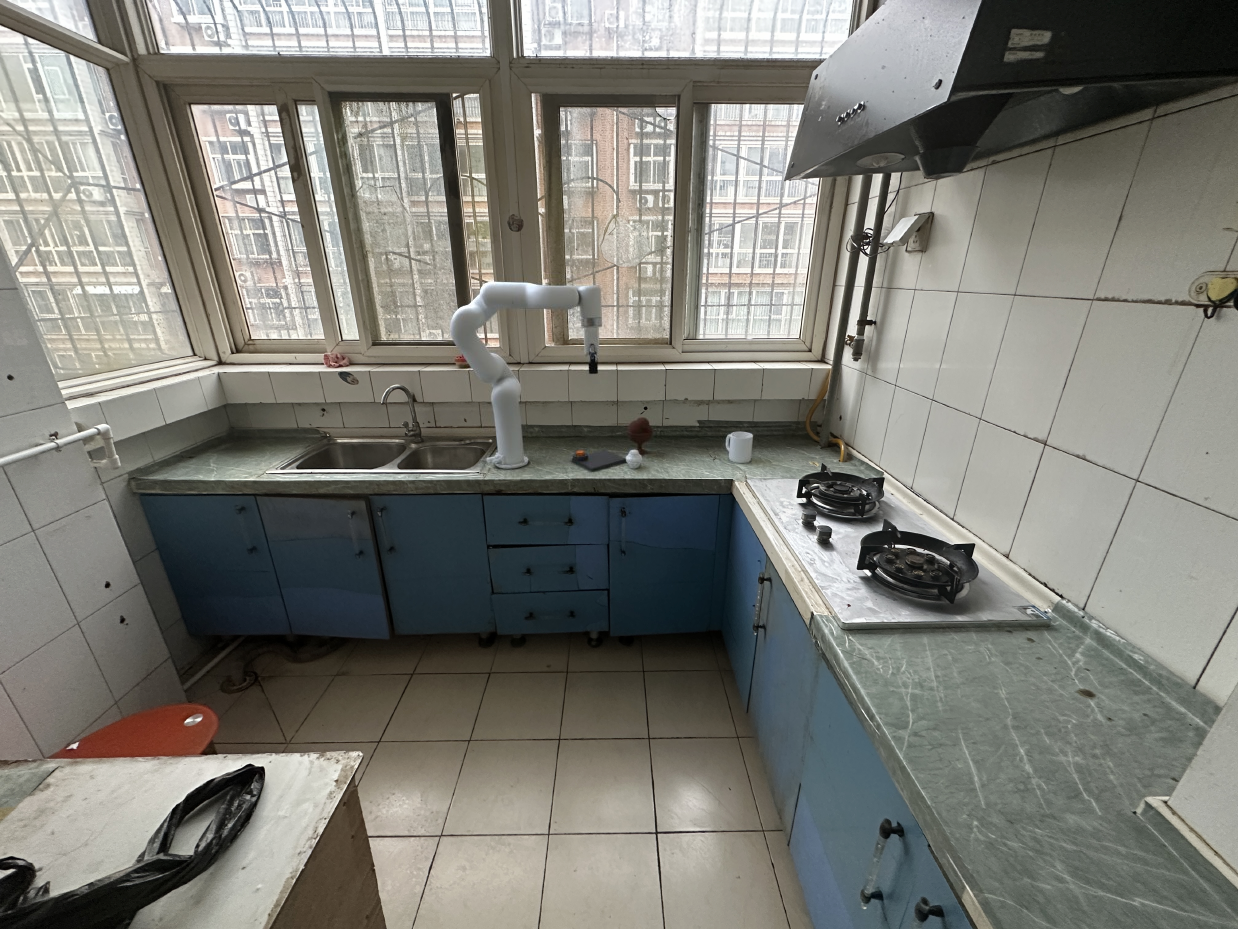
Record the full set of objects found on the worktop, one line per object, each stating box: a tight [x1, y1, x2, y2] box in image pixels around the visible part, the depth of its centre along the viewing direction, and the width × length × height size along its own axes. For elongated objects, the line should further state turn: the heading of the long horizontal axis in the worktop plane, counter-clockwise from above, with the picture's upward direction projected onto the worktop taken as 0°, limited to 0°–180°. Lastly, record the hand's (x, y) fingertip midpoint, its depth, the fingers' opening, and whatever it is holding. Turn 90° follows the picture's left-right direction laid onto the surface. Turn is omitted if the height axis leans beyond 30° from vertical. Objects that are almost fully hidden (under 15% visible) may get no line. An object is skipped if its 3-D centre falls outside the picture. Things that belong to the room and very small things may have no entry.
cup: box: [725, 431, 754, 464], centre depth 193 cm, size 8×12×10 cm
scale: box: [571, 449, 627, 472], centre depth 192 cm, size 16×14×3 cm
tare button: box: [576, 450, 584, 456], centre depth 192 cm, size 3×3×2 cm
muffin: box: [625, 449, 643, 469], centre depth 186 cm, size 6×6×7 cm
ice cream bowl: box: [626, 416, 654, 456], centre depth 199 cm, size 11×11×15 cm
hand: (593, 371), depth 181 cm, fingers open, 9 cm apart
